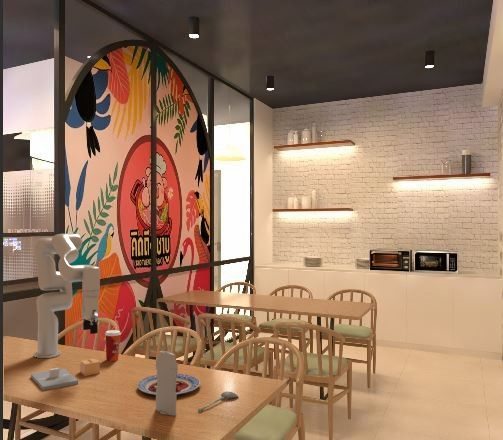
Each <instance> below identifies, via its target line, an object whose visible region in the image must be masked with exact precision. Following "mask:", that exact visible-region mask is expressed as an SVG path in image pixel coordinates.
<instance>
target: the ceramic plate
mask: <svg viewBox="0 0 503 440" xmlns="http://www.w3.org/2000/svg"><path fill="white" fill-rule="evenodd" d="M136 386H137V388H138V390H140V391H141V392H143V393H145V394H148V395H149V394H150V395H153V396H154V395H155V396H156V389H157V374H154V375H151V376H147V377H145V378H143V379H141V380H140V381H138V383H137V385H136ZM199 386H201V381H200V379H199V378H197V377H195V376H193V375H190V374H184V373H177V375H176V395H182V394H188V393H189V392H192V391H194V390H196V389H198V388H199Z"/></svg>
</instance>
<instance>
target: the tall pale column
mask: <svg viewBox="0 0 503 440" xmlns="http://www.w3.org/2000/svg"><path fill="white" fill-rule="evenodd" d="M176 359H177V358H176V354H175V353H172V352H170V351H165V350H161V351H159V352H158V356H157V358H156V360H155V369H156V375H157V389H156V395H155V411H156V412H158V413H159V414H161V415H167V416H170V417H176V416H177V394H176V375H177V374H179V373H178V370H179V364H178V362H177V360H176Z"/></svg>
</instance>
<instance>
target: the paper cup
mask: <svg viewBox="0 0 503 440" xmlns="http://www.w3.org/2000/svg"><path fill="white" fill-rule="evenodd" d="M121 334H122V333H121V331H120V330H116V329H110V330H107V331H105V333H104V335H105V357H106V358H105V359H106V361H107V362H116V361H118V360H119V356H120V355H119V352H120V342H121V341H120V340H121Z"/></svg>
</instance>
